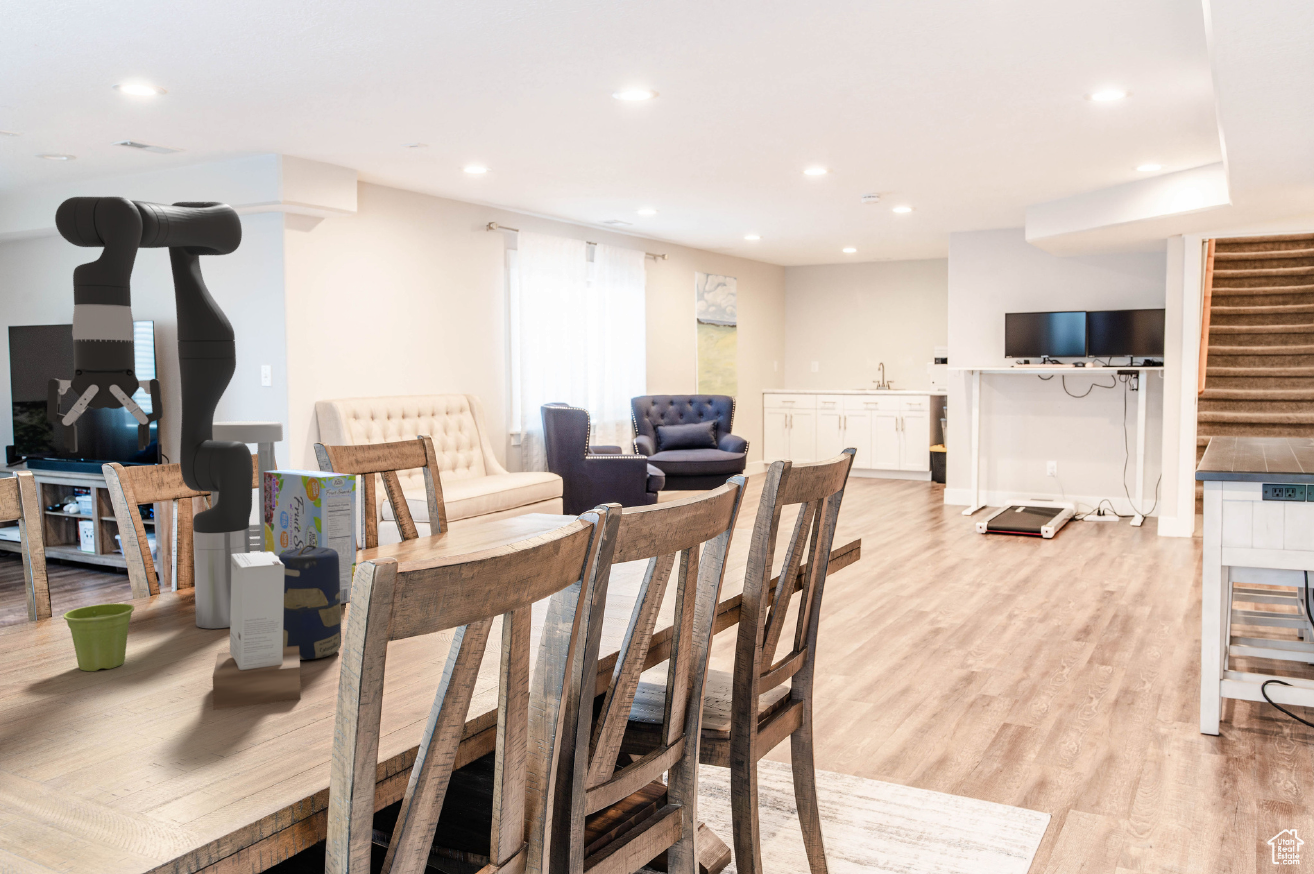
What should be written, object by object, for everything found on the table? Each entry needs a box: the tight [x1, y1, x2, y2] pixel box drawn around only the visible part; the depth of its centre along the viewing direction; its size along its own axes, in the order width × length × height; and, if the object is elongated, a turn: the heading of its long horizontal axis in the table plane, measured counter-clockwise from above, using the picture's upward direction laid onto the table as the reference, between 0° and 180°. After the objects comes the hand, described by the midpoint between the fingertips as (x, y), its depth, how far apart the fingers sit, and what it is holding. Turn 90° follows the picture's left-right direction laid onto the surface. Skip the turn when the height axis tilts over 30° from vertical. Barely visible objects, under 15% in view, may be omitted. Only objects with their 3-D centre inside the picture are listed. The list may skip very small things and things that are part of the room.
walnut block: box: [212, 646, 302, 710], centre depth 132 cm, size 11×11×5 cm
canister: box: [278, 545, 342, 661], centre depth 149 cm, size 10×10×18 cm
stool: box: [210, 420, 284, 552], centre depth 199 cm, size 16×16×35 cm
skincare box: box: [229, 551, 285, 670], centre depth 131 cm, size 8×6×15 cm
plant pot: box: [63, 603, 135, 672], centre depth 144 cm, size 9×9×9 cm
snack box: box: [264, 468, 357, 605], centre depth 188 cm, size 22×9×26 cm, turn 52°
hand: (108, 450), depth 134 cm, fingers open, 8 cm apart
